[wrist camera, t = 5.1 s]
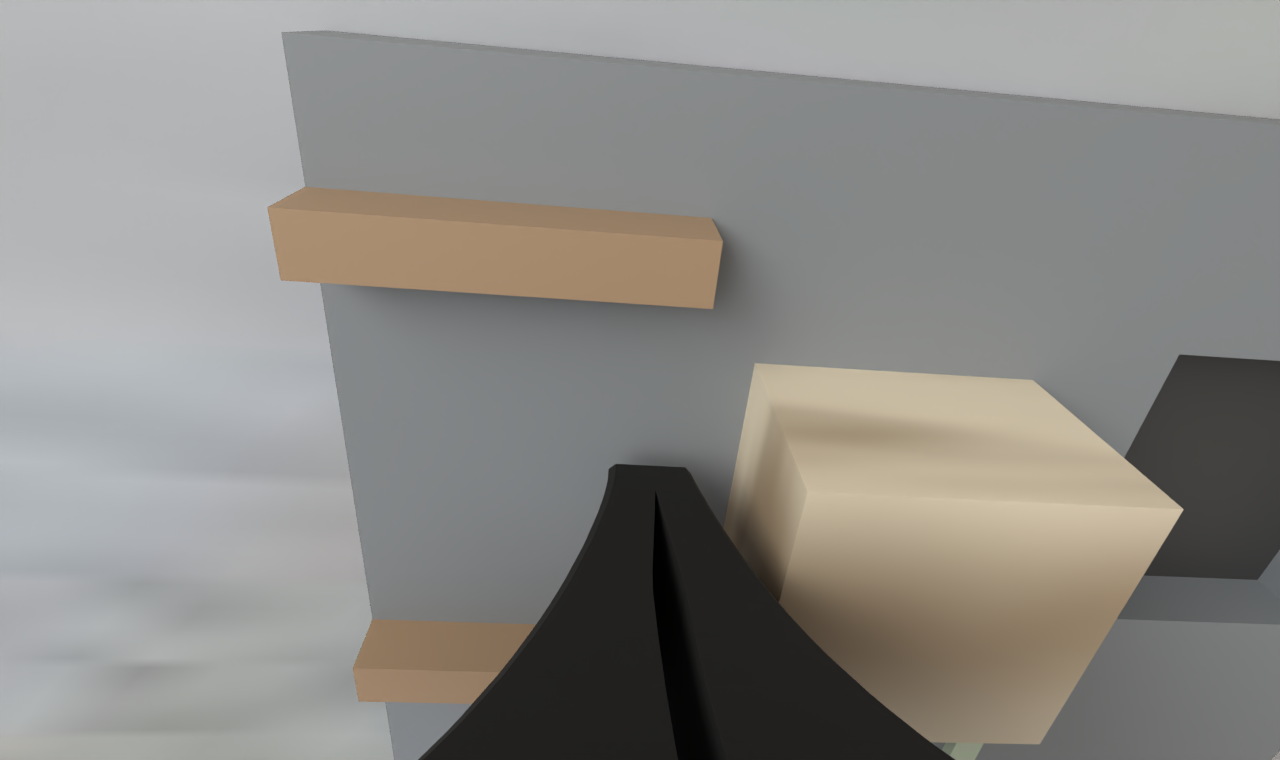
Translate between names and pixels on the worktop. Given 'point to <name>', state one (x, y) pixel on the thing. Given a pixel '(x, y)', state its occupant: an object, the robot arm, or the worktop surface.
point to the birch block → (942, 538)
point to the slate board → (775, 332)
